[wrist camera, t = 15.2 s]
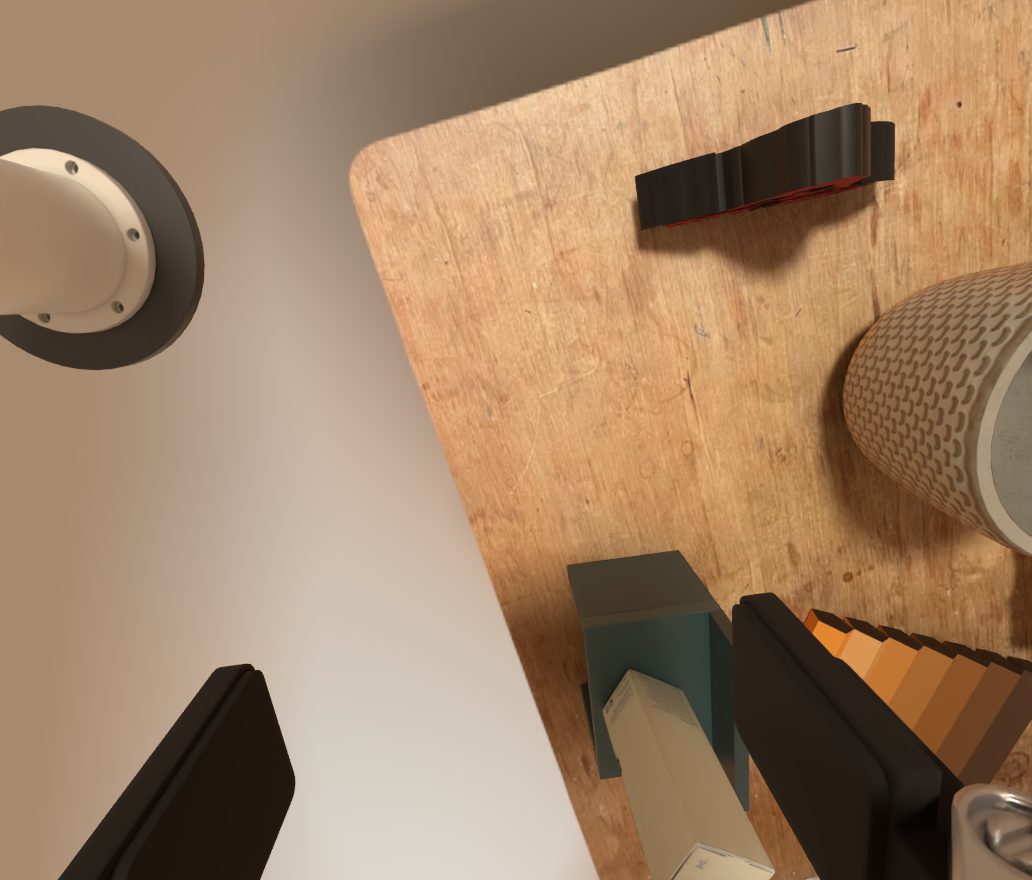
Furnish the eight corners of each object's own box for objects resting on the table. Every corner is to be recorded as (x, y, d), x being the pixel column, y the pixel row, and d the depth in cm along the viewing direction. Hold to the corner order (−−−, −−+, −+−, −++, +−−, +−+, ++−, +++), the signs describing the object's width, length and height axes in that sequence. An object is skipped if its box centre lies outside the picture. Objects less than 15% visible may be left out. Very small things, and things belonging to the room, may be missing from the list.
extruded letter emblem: (871, 134, 37) (1024, 69, 27) (871, 186, 38) (1019, 143, 27) (626, 184, 37) (679, 138, 27) (632, 234, 38) (686, 209, 28)
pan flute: (915, 849, 57) (1034, 662, 50) (941, 883, 53) (1071, 687, 47) (706, 810, 54) (804, 607, 48) (720, 843, 51) (827, 629, 44)
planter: (1026, 419, 44) (1317, 486, 28) (833, 508, 45) (1009, 618, 30) (980, 223, 39) (1295, 175, 24) (769, 328, 41) (936, 348, 25)
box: (599, 709, 39) (649, 902, 26) (628, 664, 38) (694, 842, 25) (658, 733, 40) (733, 931, 27) (689, 689, 39) (781, 874, 26)
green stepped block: (581, 695, 49) (611, 830, 37) (566, 564, 46) (594, 666, 33) (684, 680, 49) (749, 811, 37) (678, 549, 46) (748, 645, 33)
